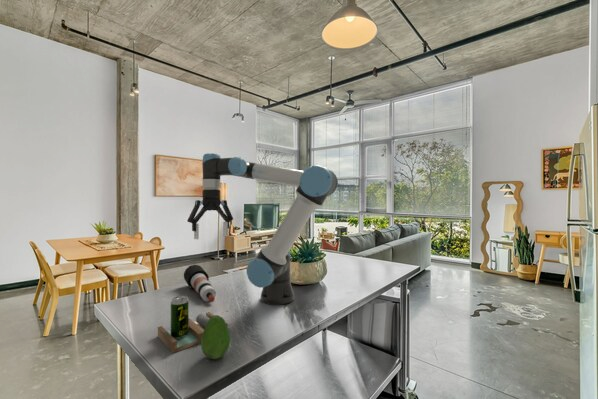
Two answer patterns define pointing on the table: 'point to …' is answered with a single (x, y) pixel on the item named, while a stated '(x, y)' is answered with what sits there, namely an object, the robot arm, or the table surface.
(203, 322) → the smooth gray cylinder
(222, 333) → the avocado
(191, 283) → the cable
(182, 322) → the beer can
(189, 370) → the table surface
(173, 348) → the caddy
